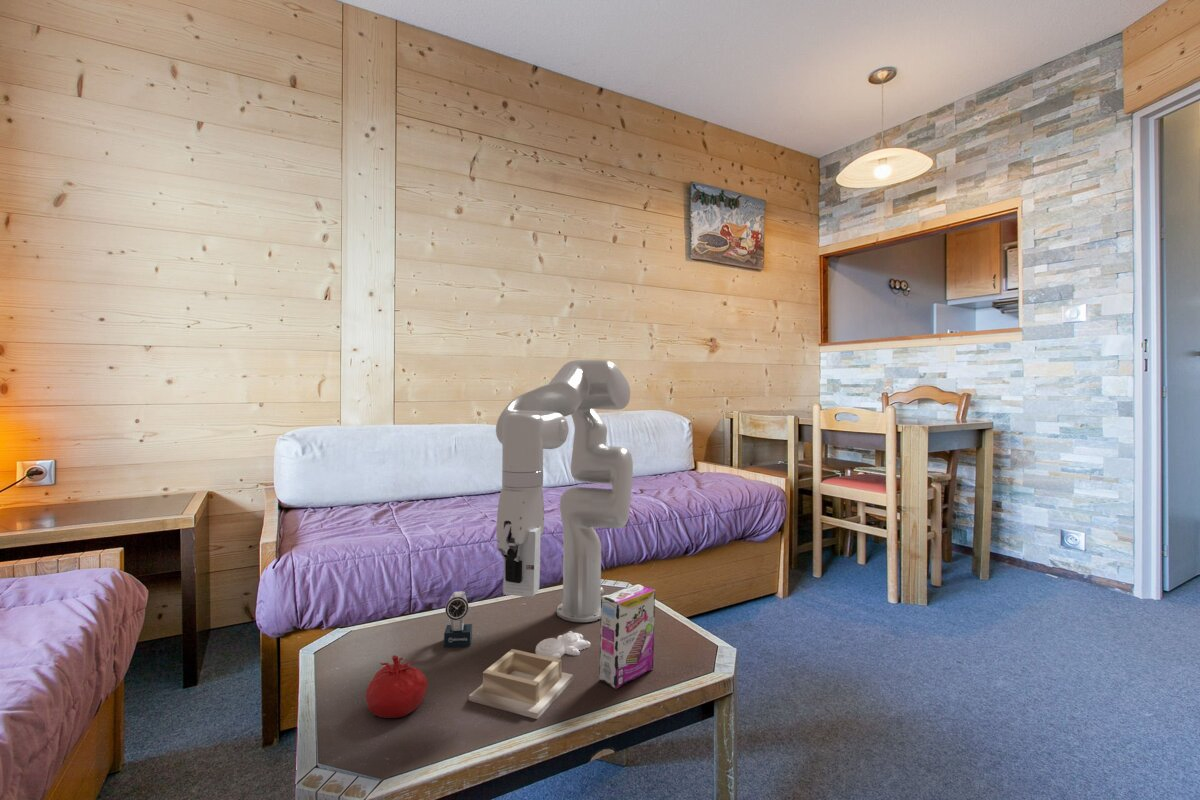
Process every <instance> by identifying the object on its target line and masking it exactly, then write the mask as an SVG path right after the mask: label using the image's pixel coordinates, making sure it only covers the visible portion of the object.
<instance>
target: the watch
mask: <svg viewBox="0 0 1200 800" xmlns="http://www.w3.org/2000/svg"><path fill="white" fill-rule="evenodd" d="M471 607H472V606H469V602H468V599H467V596H466V592H465V591H454V592H453V593H452V595H451V596H450V598H449V600H448V601H447V602H446V604H445V611H444V613H445V615H446V617H447V620H448V623H449V624H447V625H446V626H445V630H444V634H443V640H444V641H443V647H444V649H445V648H462V647H463V648H465V647H467V646H468V647H471V644H472V640H473V623H465V621H466V618H467V615H468V613H469V611H471V610H472V609H471Z"/></svg>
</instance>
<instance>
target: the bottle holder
mask: <svg viewBox="0 0 1200 800" xmlns="http://www.w3.org/2000/svg"><path fill="white" fill-rule="evenodd" d="M562 663H563V662H562V659H561V658H560V659H556V658H551V657H546V656H542V655H537V654H536V653H533V652H528V651H523V650H518V649H514V648H511V649H510V650H509V651H508V652H506V653H505V654H504V655H503V656H501V657H500V658H499V659H498V660H496V661H495V662H494V663H492V664H491V665H490V666H489V667H487V668H486V669H485V670H483V672H482V683H481V685H480V686H478V687H477V688H476V689H475V690H474V691H472V692H471V693H470V694H469V695H468V701H469V702H473V703H477V704H480V705H484V706H487V707H490V708H495V709H498V710H502V711H506V712H510V713H513V714H517V715H521V716H523V717H527V718H531V719H535V720H538V719H539V718H540V717H541V716H542V715H543V714H544V713H545V712H546V711H547V709H548V708H549V707H550V706H551V705H552V704H553V702H555V700H556V699H557V698H559V696H560V695H561V694H562V693H563V692H564V691H565V689H566V688H568V686H569V685H570V684H571V683H572V682H573V681H574V674H572V673H568V672H563V671H562V669H563V668H562V667H563V666H562Z"/></svg>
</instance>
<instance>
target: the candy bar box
mask: <svg viewBox="0 0 1200 800" xmlns="http://www.w3.org/2000/svg"><path fill="white" fill-rule="evenodd" d="M655 609H656V589H653V588H651V587H648V586H645V585H642V584H635V585H632V586H629V587H628V586H627V587H626V588H623V589H620V590H617V591H614V592H611V593H608V594H605V595H601V619H600V627H599V629H600V632H599V633H600V639H599V667H598V668H599V669H598V670H599V673H598V675H599V676H598V680H600V681H602V682H603V683H604V684H606V685H608V686H610V687H611V688H613V689H615V690H616V689H619V688H620V687H622V686H624V685H626V684H627V682H628V683H629V681H630V682H632V681H633V680H635V679H637V678H639V677H641V676H643V675H644V674H643V673H645V672H647V671H649V670H651V669H653V670H654V647H655V645H654V644H655V615H656V614H655V612H656V610H655ZM651 671H652V670H651ZM649 672H650V671H649ZM647 673H648V672H647ZM642 674H643V675H642ZM645 674H646V673H645ZM640 675H641V676H640ZM638 676H639V677H638ZM636 677H637V678H636ZM632 679H633V680H632ZM631 680H632V681H631Z"/></svg>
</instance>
